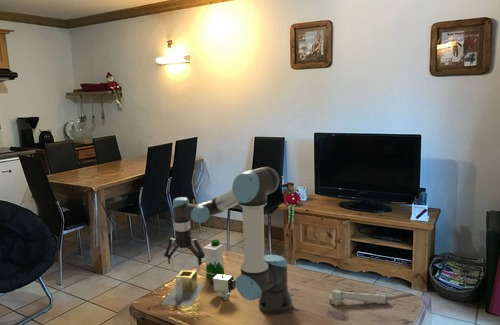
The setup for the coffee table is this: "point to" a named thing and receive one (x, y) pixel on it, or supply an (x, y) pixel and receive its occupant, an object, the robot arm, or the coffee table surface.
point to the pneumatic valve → (223, 285)
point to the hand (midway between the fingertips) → (185, 270)
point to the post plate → (186, 297)
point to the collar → (188, 280)
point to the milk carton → (214, 259)
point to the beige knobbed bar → (356, 297)
